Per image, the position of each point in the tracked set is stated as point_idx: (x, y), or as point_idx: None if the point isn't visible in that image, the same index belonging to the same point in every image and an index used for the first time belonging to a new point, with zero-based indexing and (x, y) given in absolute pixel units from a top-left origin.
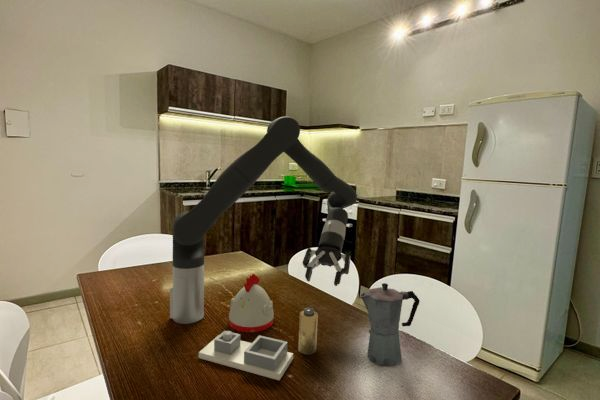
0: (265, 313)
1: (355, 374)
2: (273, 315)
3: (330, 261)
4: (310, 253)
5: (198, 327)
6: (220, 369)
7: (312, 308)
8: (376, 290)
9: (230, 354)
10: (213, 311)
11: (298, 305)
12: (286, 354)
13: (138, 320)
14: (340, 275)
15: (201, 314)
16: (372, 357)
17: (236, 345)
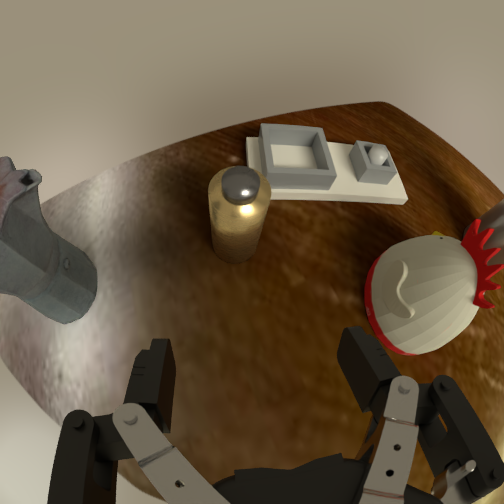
0: (389, 268)
1: (119, 205)
2: (380, 322)
3: (240, 487)
4: (466, 461)
5: (449, 228)
6: (340, 142)
7: (233, 193)
8: None
9: (349, 153)
10: None
11: (352, 450)
12: None
13: None
14: (127, 390)
15: None
16: (83, 253)
17: (356, 165)
